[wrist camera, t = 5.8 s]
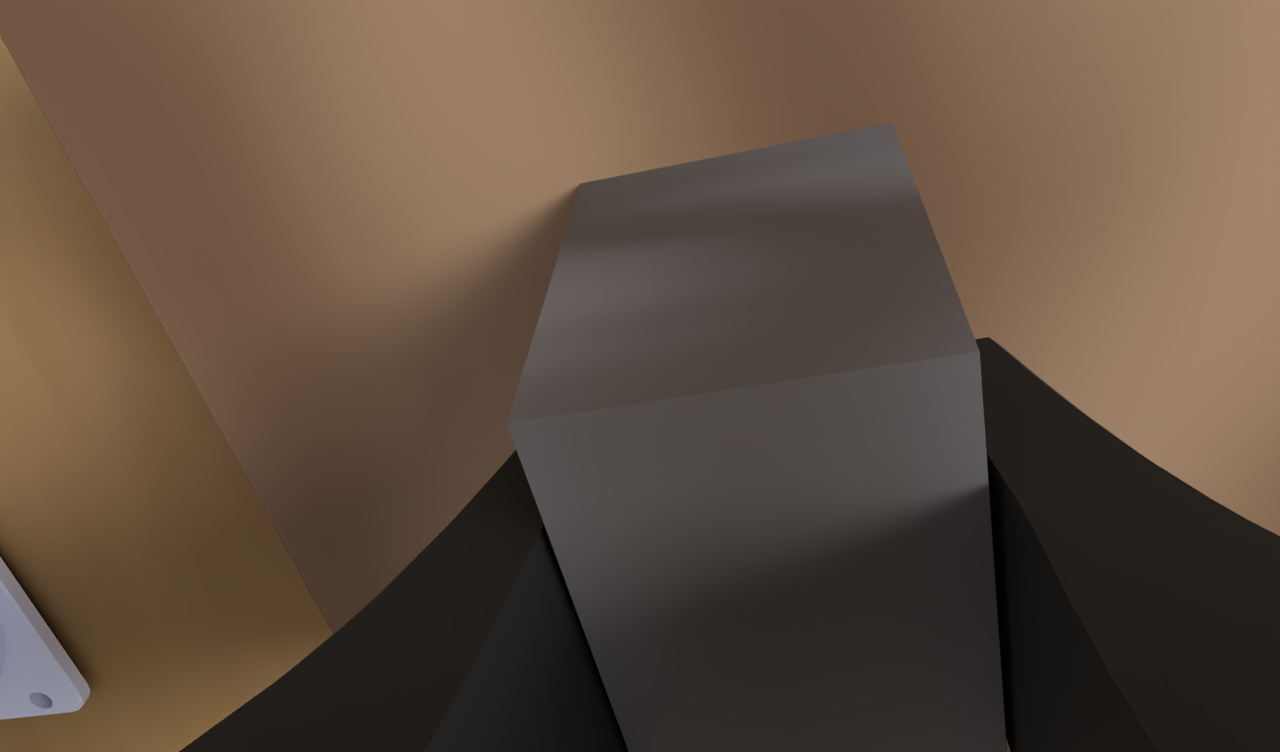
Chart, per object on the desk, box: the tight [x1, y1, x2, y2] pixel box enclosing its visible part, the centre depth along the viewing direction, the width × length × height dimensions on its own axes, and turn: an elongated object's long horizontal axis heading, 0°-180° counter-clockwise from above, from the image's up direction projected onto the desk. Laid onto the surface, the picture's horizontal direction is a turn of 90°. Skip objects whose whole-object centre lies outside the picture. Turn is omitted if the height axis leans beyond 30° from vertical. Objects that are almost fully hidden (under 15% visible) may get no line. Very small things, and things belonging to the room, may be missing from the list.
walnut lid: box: [0, 0, 1280, 752], centre depth 10 cm, size 13×13×5 cm
